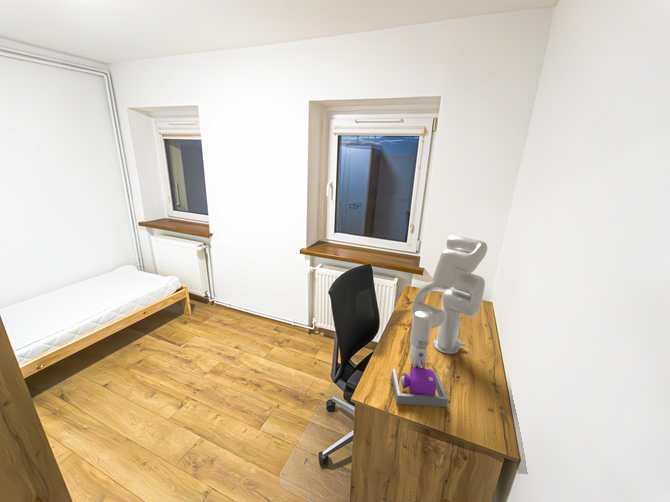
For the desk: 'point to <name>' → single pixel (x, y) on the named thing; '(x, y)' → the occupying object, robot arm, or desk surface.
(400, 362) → the desk surface
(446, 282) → the robot arm
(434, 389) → the toy camera
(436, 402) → the cradle
